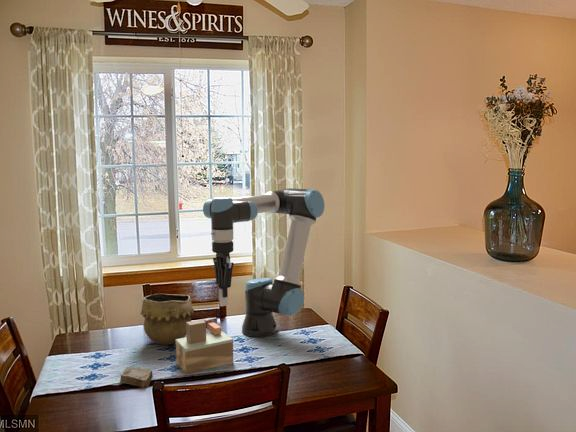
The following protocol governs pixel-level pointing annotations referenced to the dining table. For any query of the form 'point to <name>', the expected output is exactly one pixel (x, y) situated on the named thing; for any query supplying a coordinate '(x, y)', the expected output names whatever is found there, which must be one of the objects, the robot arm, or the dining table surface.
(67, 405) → the dining table surface
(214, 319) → the staple
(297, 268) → the robot arm
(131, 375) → the stone
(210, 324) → the key bar
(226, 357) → the toolbox
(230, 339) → the lid
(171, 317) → the clay pot
